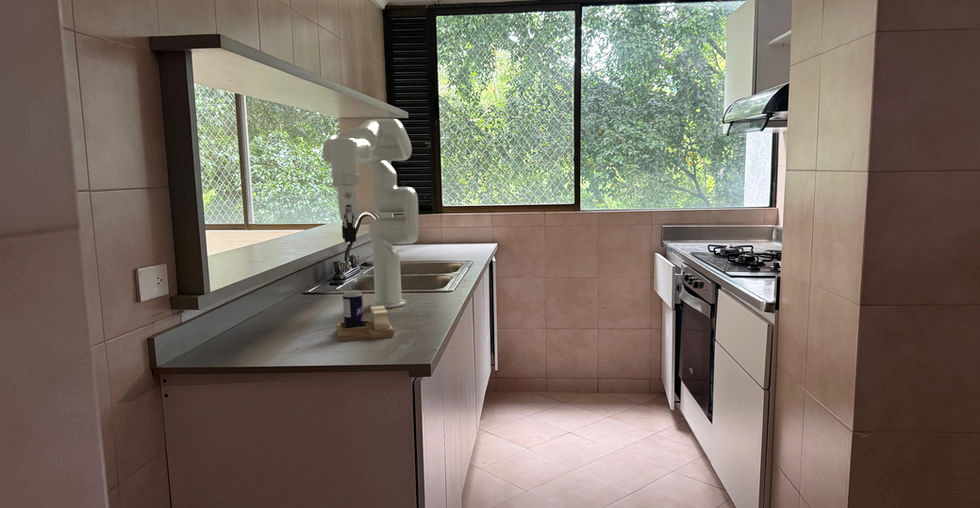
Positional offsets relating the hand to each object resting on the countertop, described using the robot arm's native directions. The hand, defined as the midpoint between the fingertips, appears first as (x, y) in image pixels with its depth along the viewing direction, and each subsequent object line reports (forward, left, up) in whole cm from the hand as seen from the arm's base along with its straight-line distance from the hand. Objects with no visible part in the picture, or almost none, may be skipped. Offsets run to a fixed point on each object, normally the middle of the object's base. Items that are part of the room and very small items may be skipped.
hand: (349, 240), depth 190 cm
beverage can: (0, 0, -28) cm, 28 cm away
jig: (0, +3, -28) cm, 28 cm away
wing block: (0, +8, -27) cm, 28 cm away
